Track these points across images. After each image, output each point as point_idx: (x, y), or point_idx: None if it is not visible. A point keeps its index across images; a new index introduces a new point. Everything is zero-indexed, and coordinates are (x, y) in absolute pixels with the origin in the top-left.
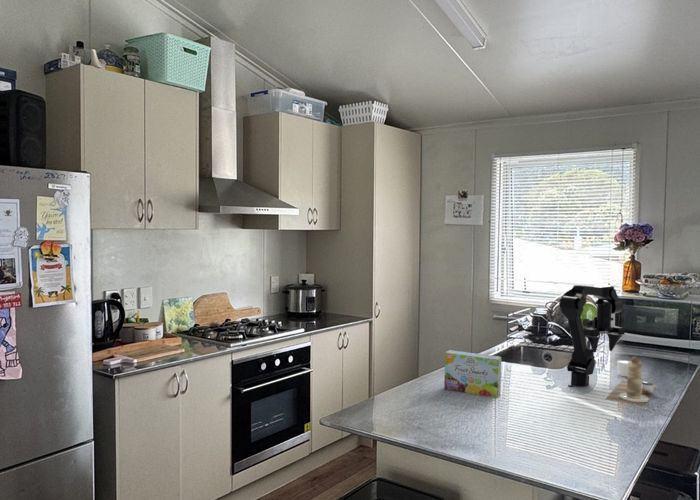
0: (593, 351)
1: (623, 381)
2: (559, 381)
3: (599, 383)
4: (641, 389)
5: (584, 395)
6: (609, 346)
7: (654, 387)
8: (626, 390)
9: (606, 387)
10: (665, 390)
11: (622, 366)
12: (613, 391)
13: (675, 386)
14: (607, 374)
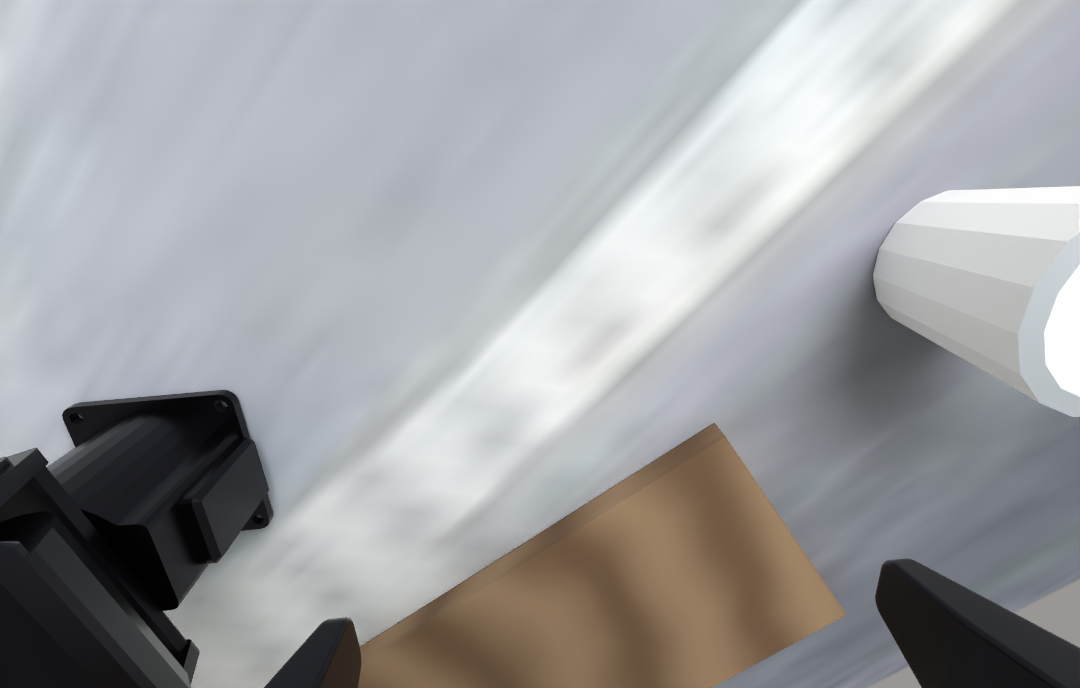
0: (322, 644)
1: (701, 470)
2: (62, 215)
3: (490, 383)
4: (633, 665)
5: None
6: (975, 648)
7: (783, 643)
8: (490, 669)
9: (457, 499)
10: (850, 632)
11: (978, 339)
12: (360, 675)
13: (1033, 572)
14: (897, 82)
